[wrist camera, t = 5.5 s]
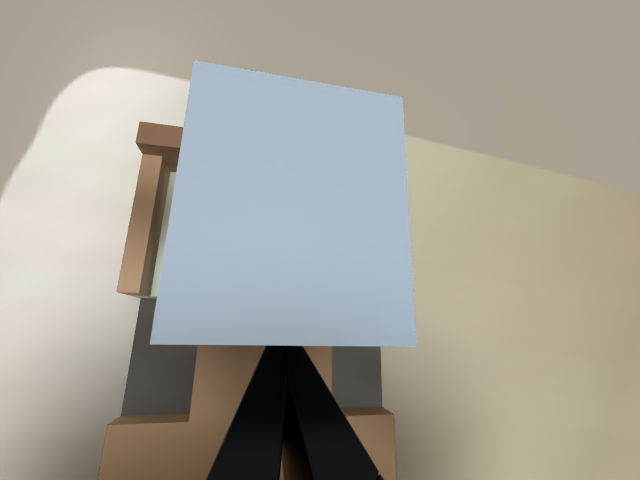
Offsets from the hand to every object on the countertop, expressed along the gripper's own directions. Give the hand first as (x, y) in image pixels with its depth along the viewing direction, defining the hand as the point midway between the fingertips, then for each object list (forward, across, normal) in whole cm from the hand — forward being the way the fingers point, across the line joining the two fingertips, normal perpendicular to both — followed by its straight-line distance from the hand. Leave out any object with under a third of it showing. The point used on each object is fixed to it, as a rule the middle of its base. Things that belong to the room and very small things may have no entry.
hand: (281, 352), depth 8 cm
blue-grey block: (+7, 0, +2) cm, 7 cm away
